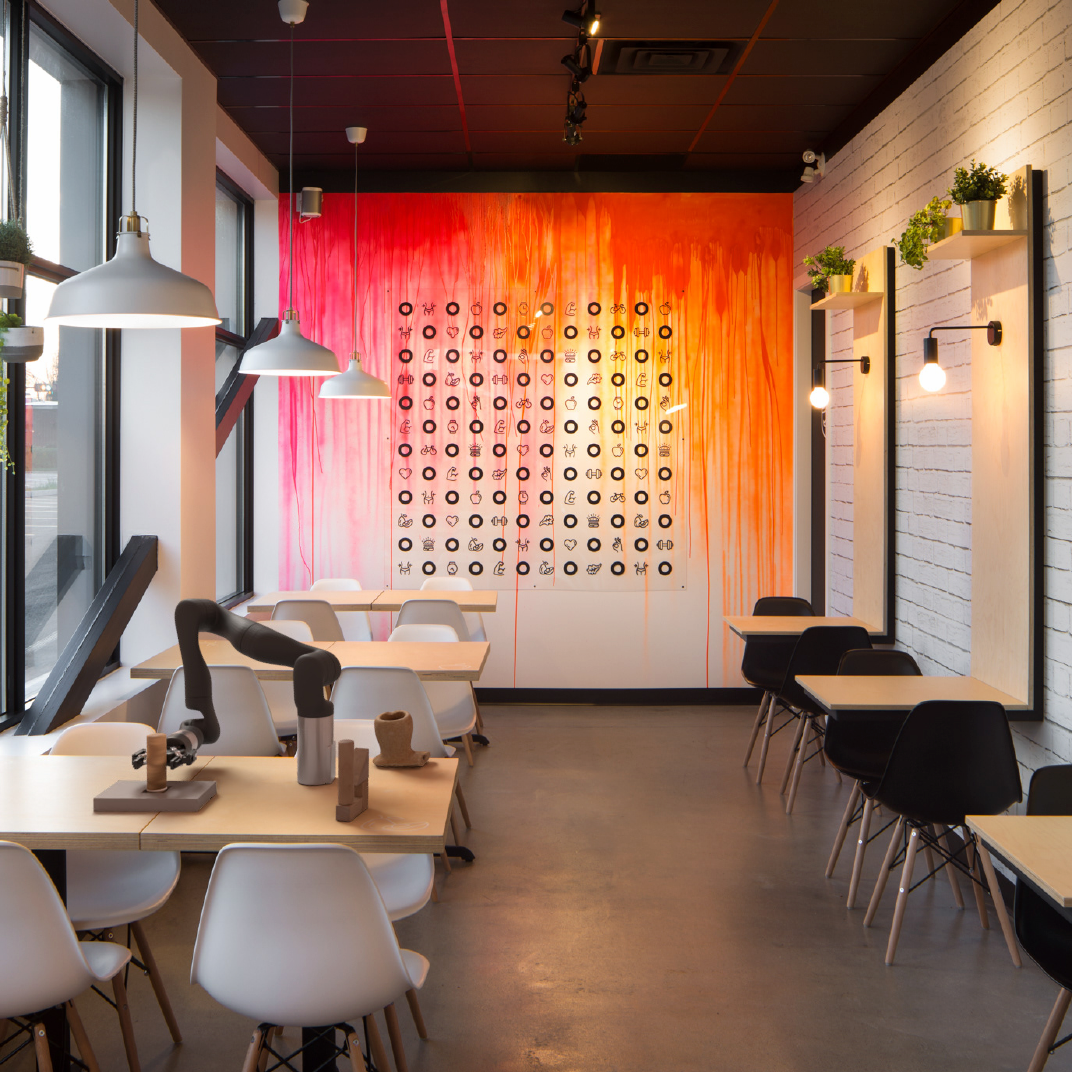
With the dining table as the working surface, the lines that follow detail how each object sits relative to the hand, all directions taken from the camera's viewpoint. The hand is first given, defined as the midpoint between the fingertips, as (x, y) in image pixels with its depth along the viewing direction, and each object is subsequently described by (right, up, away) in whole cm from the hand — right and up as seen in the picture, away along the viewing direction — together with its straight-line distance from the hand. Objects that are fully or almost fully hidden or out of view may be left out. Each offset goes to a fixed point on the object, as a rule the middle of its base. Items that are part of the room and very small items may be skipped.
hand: (153, 765), depth 229 cm
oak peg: (0, -9, +2) cm, 10 cm away
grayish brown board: (0, -9, +2) cm, 9 cm away
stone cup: (+53, -9, +35) cm, 64 cm away
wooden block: (+48, -10, -5) cm, 49 cm away
